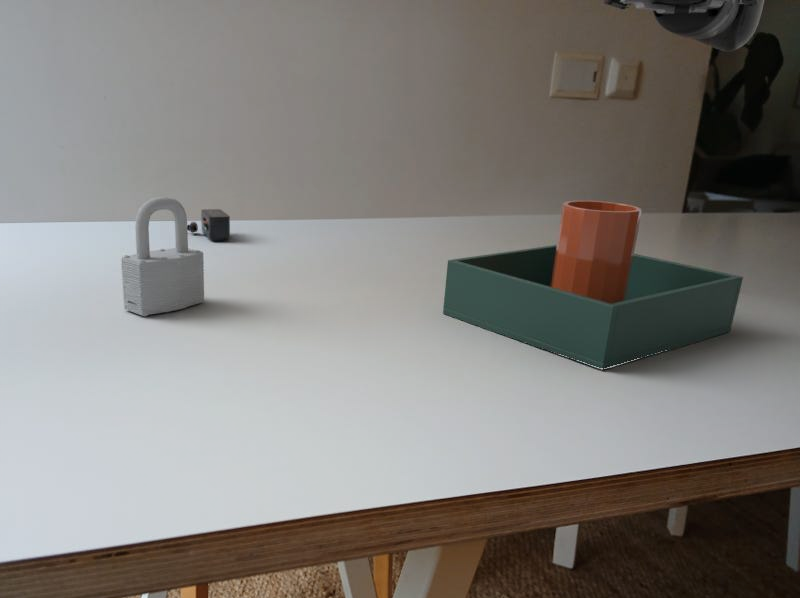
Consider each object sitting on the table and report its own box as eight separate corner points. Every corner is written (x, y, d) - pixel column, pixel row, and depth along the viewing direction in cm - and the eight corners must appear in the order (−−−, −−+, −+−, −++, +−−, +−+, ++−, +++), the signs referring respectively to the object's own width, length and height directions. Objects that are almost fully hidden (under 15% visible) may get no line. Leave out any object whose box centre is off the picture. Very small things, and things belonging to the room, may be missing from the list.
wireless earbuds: (219, 231, 103) (219, 208, 102) (230, 241, 97) (230, 216, 96) (186, 232, 102) (185, 208, 101) (195, 242, 96) (195, 217, 95)
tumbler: (576, 303, 72) (593, 199, 68) (635, 320, 67) (656, 209, 64) (533, 312, 68) (548, 203, 65) (591, 330, 64) (611, 214, 60)
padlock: (182, 295, 72) (179, 191, 68) (209, 304, 69) (207, 196, 66) (119, 309, 67) (112, 197, 63) (146, 319, 64) (140, 203, 61)
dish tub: (571, 288, 80) (578, 241, 78) (730, 331, 67) (743, 276, 65) (442, 313, 69) (447, 260, 67) (602, 371, 56) (613, 306, 54)
